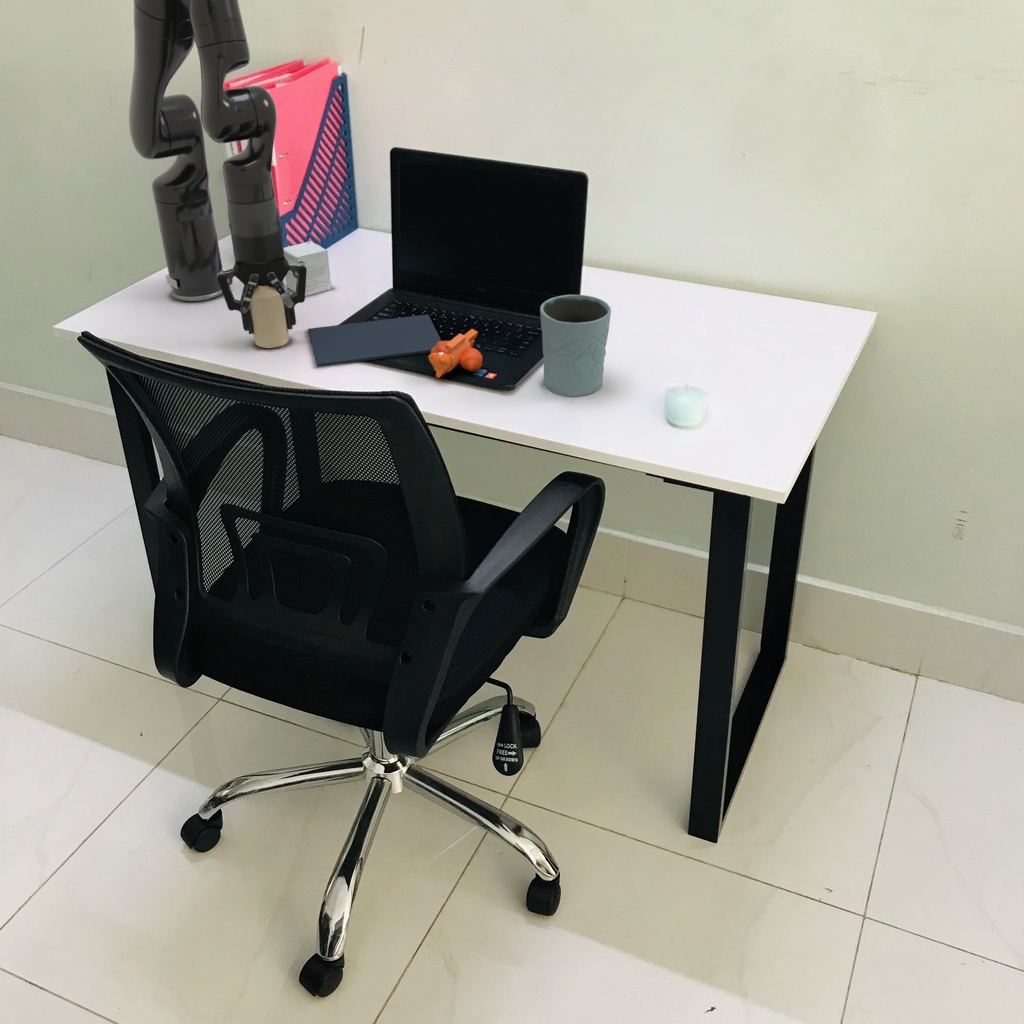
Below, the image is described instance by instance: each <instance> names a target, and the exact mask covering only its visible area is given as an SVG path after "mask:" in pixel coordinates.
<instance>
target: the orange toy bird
mask: <svg viewBox="0 0 1024 1024" xmlns="http://www.w3.org/2000/svg"><path fill="white" fill-rule="evenodd" d="M478 334H479V333H478V331H477V330H475V329H473V328H471V329H470V330H468V331H467V332H465V334H462V333H458V334H457V335H455V336H454V337H453V338H452V339H451V340H441V341H439V342H437V344H436V346H435V347H434V348H432V350H431V353H429V354H428V356H427V359H428V361H429V363H430V364H431V365H432V367H433V370H434V371H435V377H436V378H440V377H442V375H446V374H447V373H449V372H451V371H452V370H453V369H454V368H456V367H457V366H458V365H460V366H461V368H463V369H464V370H465V371H469V372H477V371H479V370H480V369H481V367H482V366H483V355H482V353H481V352H480V351H479V350H478V349H476V348H474V347H473V346H474V344H475V339H476V338H477V336H478Z"/></svg>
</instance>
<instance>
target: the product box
mask: <svg viewBox="0 0 1024 1024" xmlns="http://www.w3.org/2000/svg"><path fill="white" fill-rule="evenodd" d="M284 255H285V258H286V260H287V261H288V263H298V262H300V261H303V262H304V263H305V265H306V269H307V274H306V289H305V297H309V296H312V295H315V294H318V293H322V292H326V291H329V290H332V281H331V273H330V271H331V270H330V261H329V251H328V250H327V249H326V248H324V247H322V246H321V245H320V244H317V243H315V242H314V241H311V240H309V241H306V242H302V243H298V244H294V245H289V246H285V247H284ZM284 279H285V286H286V288H287V289H290V290H291V291H292V292H294V293H296V281H297V278H295V277H294V276H293V273H292V271H290V270H289V271H288V273H287V275H286V276H285V278H284Z"/></svg>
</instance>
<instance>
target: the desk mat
mask: <svg viewBox="0 0 1024 1024" xmlns="http://www.w3.org/2000/svg"><path fill="white" fill-rule="evenodd" d="M307 330H308V334H309V339H310V343H311V346H312V349H313V355H314V358H315V361H316V362H315V363H316V365H317V368H318V367H325V366H326V367H328V366H336V365H344V364H352V363H359V362H367V361H376V360H382V359H383V360H384V359H391V358H399V357H407V356H414V355H422V354H423V355H424V354H431V350H432V348H434V347H435V346H436V344H437V342H439V341H442V339H441V337H440V335H439V333H438V330H437V329H436V327H435V325H434V323H433V321H432V319H431V317H430V315H429V314H420V315H413V316H404V317H403V316H402V317H395V318H387V319H378V320H370V321H369V320H368V321H361V322H352V323H345V324H344V323H343V324H335V325H328V326H320V327H319V326H318V327H311V328H308V329H307Z"/></svg>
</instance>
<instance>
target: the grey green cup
mask: <svg viewBox="0 0 1024 1024" xmlns="http://www.w3.org/2000/svg"><path fill="white" fill-rule="evenodd" d="M539 314H540V327H541V340H542V354H543V358H542V359H543V382H544V386H545V388H546V389H547V390H548V391H549V392H551V393H553V394H556V395H558V396H562V397H563V396H564V397H584V396H585V397H586V396H589V395H592V394H594V393H596V392H597V391H599V390H600V389H601V387H602V384H603V380H604V371H605V367H604V366H605V365H604V363H605V357H606V354H607V351H606V346H607V342H608V338H609V337H608V336H609V331H610V322H611V314H612V309H611V306H610V305H609V304H608V303H607V302H606V301H605V300H603V299H601V298H598V297H595V296H593V295H585V294H563V295H558V296H554V297H551V298H549V299H547V300H545V301H544V302H542V304H540V308H539Z"/></svg>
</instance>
